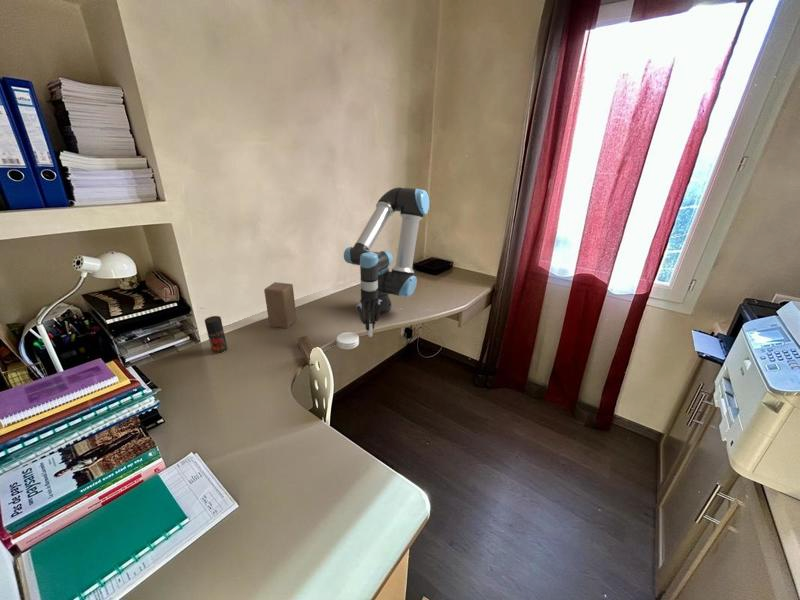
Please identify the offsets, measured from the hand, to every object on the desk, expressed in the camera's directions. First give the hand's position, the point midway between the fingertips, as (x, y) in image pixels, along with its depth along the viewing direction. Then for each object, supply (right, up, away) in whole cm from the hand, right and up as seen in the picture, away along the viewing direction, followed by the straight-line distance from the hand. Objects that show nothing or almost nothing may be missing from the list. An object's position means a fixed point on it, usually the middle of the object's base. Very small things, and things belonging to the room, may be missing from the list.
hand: (369, 335), depth 156 cm
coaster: (-10, -4, -4) cm, 11 cm away
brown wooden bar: (-25, -6, -12) cm, 29 cm away
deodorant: (-63, -5, -12) cm, 65 cm away
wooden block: (-44, +5, +12) cm, 46 cm away
